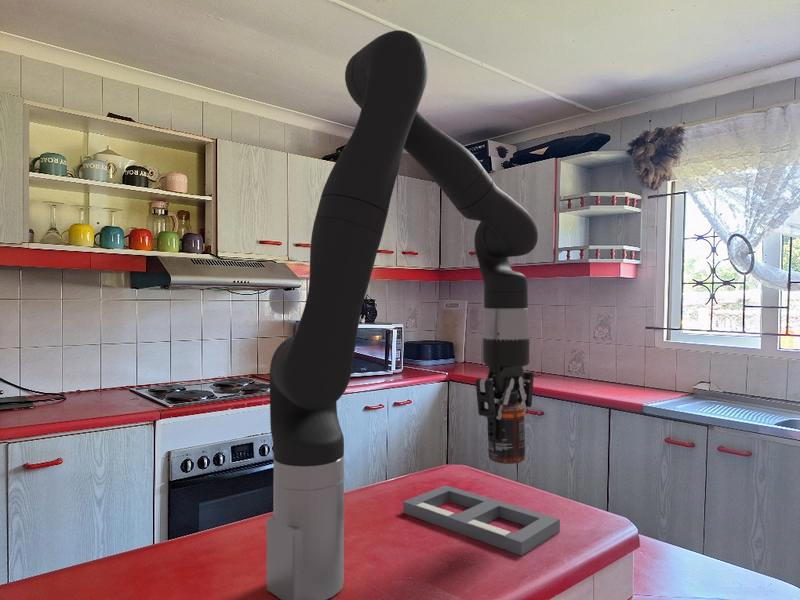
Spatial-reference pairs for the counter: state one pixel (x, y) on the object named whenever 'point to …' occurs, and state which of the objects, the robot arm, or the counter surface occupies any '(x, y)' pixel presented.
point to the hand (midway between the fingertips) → (506, 437)
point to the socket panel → (483, 518)
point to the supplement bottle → (510, 434)
